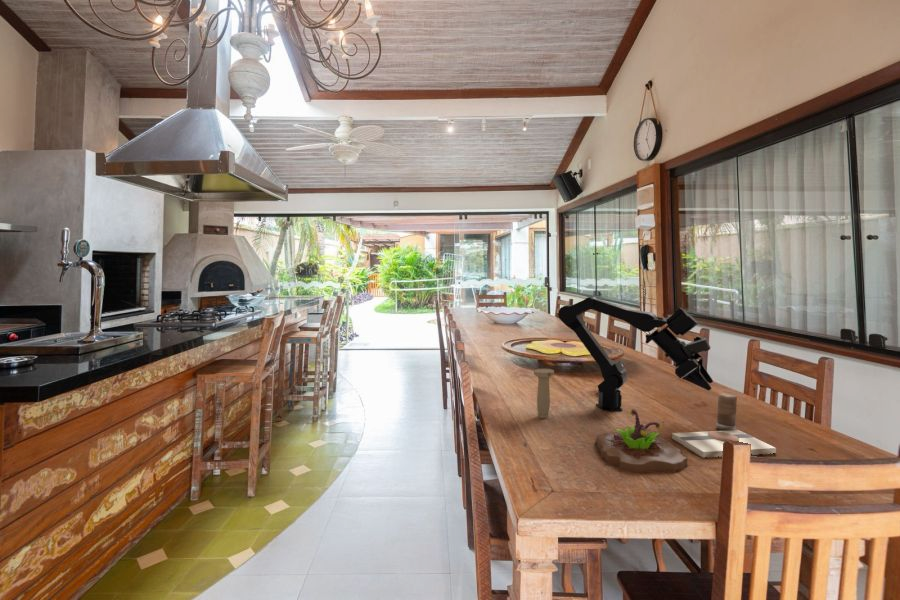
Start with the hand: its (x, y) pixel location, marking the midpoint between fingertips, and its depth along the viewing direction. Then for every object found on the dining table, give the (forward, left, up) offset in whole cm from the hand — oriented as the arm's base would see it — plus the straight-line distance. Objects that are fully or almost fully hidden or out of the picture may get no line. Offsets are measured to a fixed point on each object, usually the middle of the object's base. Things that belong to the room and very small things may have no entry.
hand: (711, 385), depth 124 cm
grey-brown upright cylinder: (+3, -3, -12) cm, 13 cm away
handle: (-47, +13, -12) cm, 50 cm away
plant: (-32, -15, -13) cm, 38 cm away
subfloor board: (-7, -13, -12) cm, 19 cm away
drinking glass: (-10, +39, -12) cm, 42 cm away
